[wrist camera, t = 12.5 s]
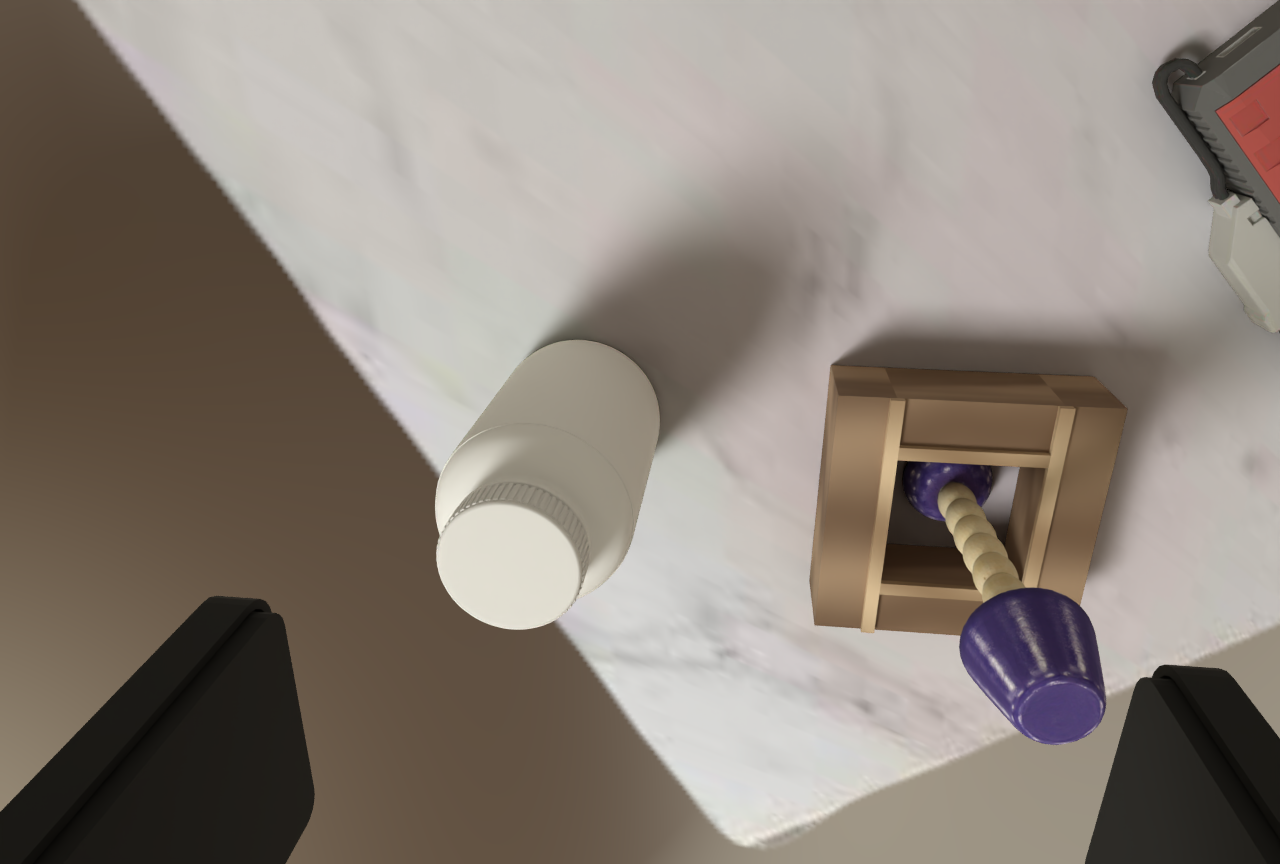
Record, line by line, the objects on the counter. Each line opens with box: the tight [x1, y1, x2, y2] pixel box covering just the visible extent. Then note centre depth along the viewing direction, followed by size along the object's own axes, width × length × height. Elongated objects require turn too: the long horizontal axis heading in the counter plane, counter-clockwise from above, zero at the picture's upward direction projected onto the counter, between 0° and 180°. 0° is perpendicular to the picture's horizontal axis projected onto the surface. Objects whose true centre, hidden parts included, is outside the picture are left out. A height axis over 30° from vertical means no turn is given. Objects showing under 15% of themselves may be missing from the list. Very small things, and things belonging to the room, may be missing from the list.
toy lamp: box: [903, 461, 1106, 745], centre depth 37 cm, size 5×5×17 cm
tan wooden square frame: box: [809, 365, 1128, 636], centre depth 43 cm, size 12×12×4 cm
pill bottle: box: [435, 340, 660, 629], centre depth 38 cm, size 8×8×15 cm
